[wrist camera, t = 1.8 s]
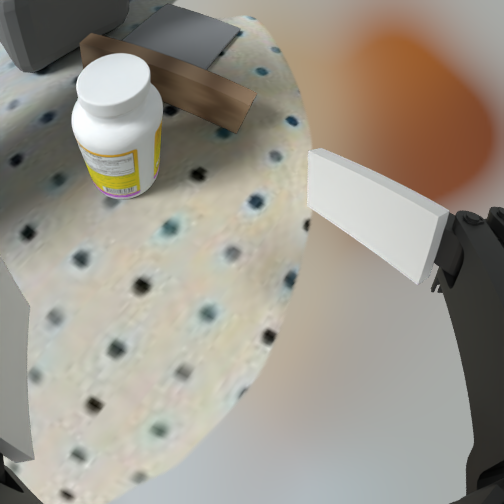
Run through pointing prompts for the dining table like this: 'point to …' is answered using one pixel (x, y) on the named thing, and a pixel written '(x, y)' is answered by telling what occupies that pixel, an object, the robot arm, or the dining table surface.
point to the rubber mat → (184, 35)
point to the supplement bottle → (119, 124)
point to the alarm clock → (53, 27)
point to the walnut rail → (181, 82)
